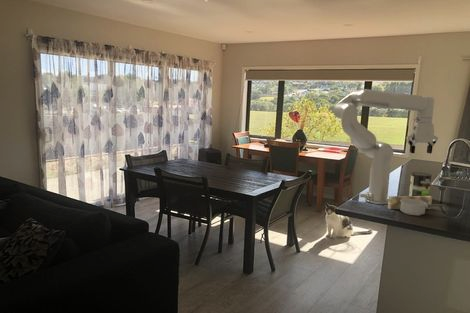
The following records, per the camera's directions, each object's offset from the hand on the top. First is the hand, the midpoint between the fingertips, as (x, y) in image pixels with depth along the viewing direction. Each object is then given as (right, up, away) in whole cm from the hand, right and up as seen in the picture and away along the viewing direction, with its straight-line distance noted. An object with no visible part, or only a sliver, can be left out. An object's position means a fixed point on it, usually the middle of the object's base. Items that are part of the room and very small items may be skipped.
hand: (420, 153), depth 195 cm
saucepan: (-9, -30, -19) cm, 36 cm away
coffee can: (+4, -26, +9) cm, 27 cm away
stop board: (-11, -28, -10) cm, 32 cm away
